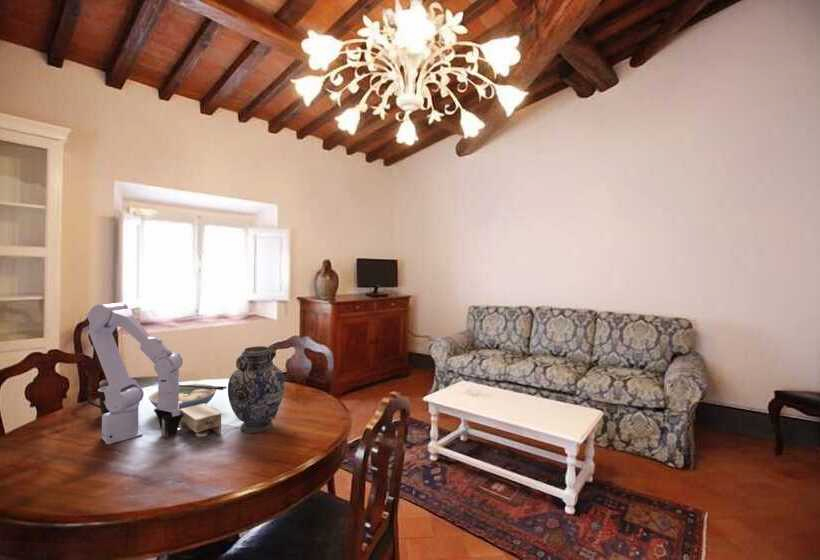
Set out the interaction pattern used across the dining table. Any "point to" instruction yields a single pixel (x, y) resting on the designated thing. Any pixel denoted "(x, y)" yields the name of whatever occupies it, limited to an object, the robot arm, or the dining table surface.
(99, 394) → the coffee mug
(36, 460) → the dining table surface
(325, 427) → the dining table surface
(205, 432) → the button
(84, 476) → the dining table surface
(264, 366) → the decorative vase
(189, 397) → the ramen bowl
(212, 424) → the tan slab
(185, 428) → the wood grain brick
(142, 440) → the dining table surface
